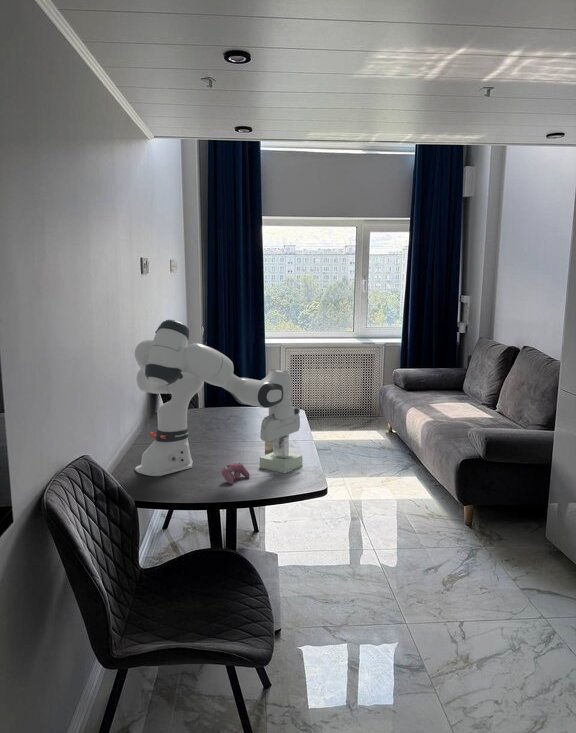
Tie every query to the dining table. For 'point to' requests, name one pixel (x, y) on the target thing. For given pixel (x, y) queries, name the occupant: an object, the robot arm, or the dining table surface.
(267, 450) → the round beech peg
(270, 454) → the slot block
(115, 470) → the dining table surface
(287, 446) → the grey rectangular block
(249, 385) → the robot arm
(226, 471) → the video game controller
